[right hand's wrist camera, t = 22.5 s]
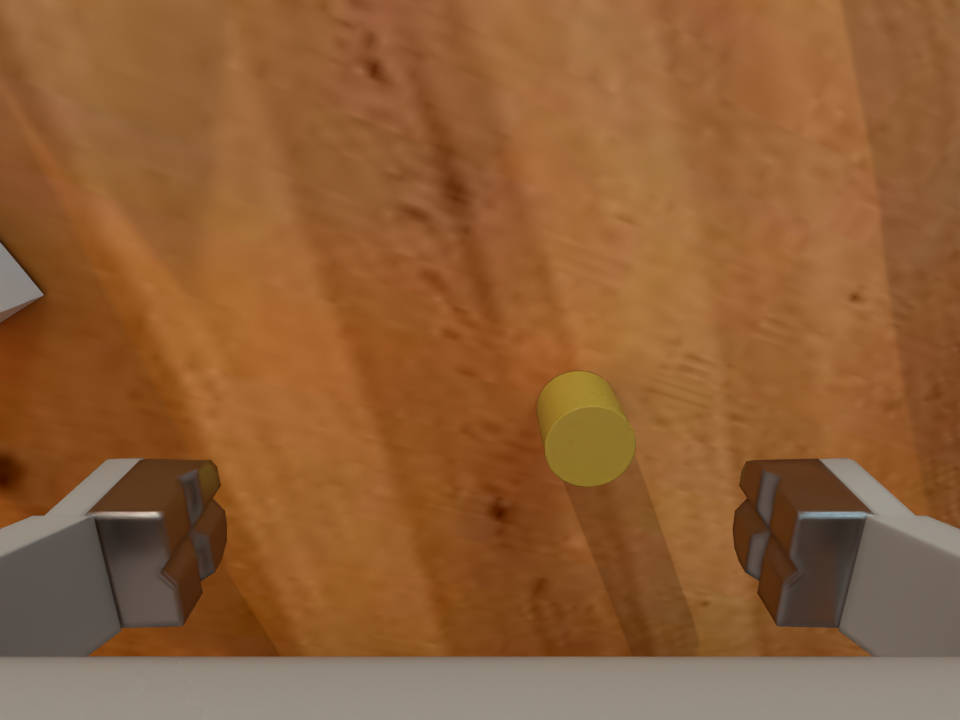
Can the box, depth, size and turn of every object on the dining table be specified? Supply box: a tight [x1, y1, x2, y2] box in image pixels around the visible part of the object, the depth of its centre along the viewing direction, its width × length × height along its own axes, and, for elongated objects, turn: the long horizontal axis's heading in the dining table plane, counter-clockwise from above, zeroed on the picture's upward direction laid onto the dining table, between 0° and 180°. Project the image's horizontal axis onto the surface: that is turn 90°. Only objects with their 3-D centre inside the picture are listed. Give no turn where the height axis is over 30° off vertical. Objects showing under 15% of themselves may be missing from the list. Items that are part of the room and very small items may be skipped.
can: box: [536, 371, 636, 487], centre depth 30 cm, size 4×4×4 cm
